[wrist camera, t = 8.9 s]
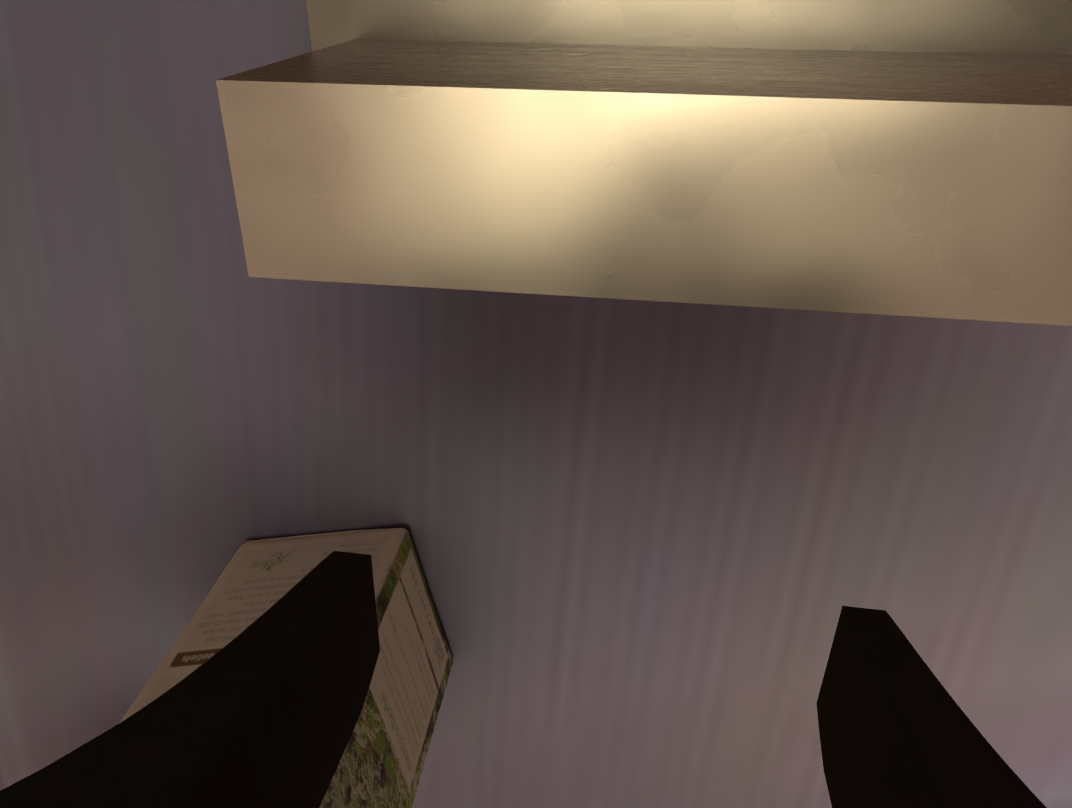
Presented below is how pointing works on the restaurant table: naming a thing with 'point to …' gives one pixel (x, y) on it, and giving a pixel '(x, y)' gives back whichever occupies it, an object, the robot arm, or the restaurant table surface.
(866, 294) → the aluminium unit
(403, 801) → the syrup box
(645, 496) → the restaurant table surface
